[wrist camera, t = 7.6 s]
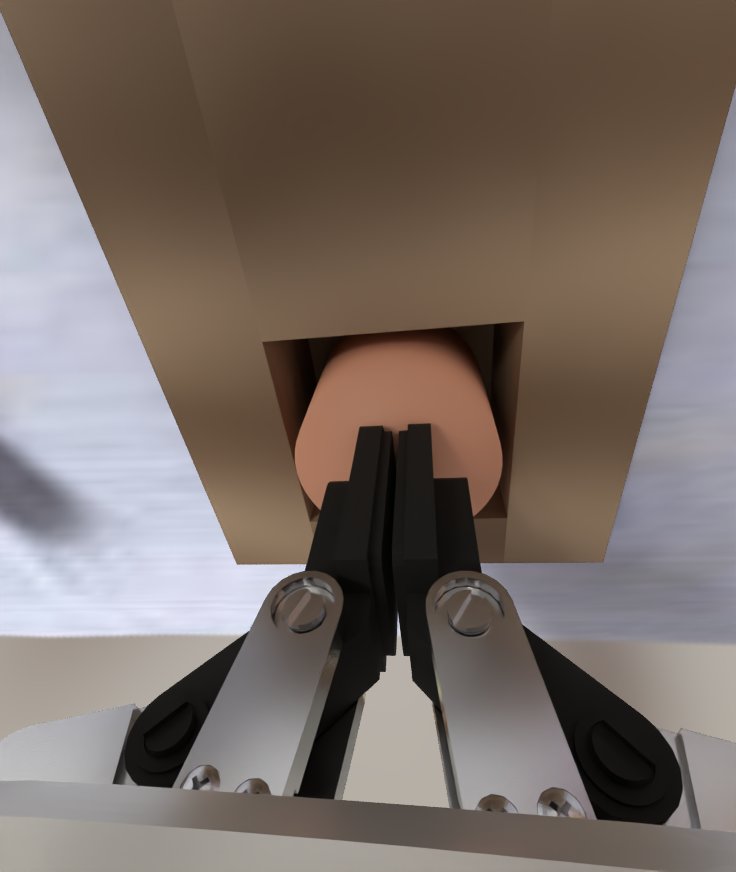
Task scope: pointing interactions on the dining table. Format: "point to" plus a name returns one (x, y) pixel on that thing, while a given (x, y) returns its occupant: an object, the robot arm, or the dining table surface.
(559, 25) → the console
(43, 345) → the dining table surface
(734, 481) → the dining table surface
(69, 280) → the dining table surface
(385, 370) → the peach rounded lump
